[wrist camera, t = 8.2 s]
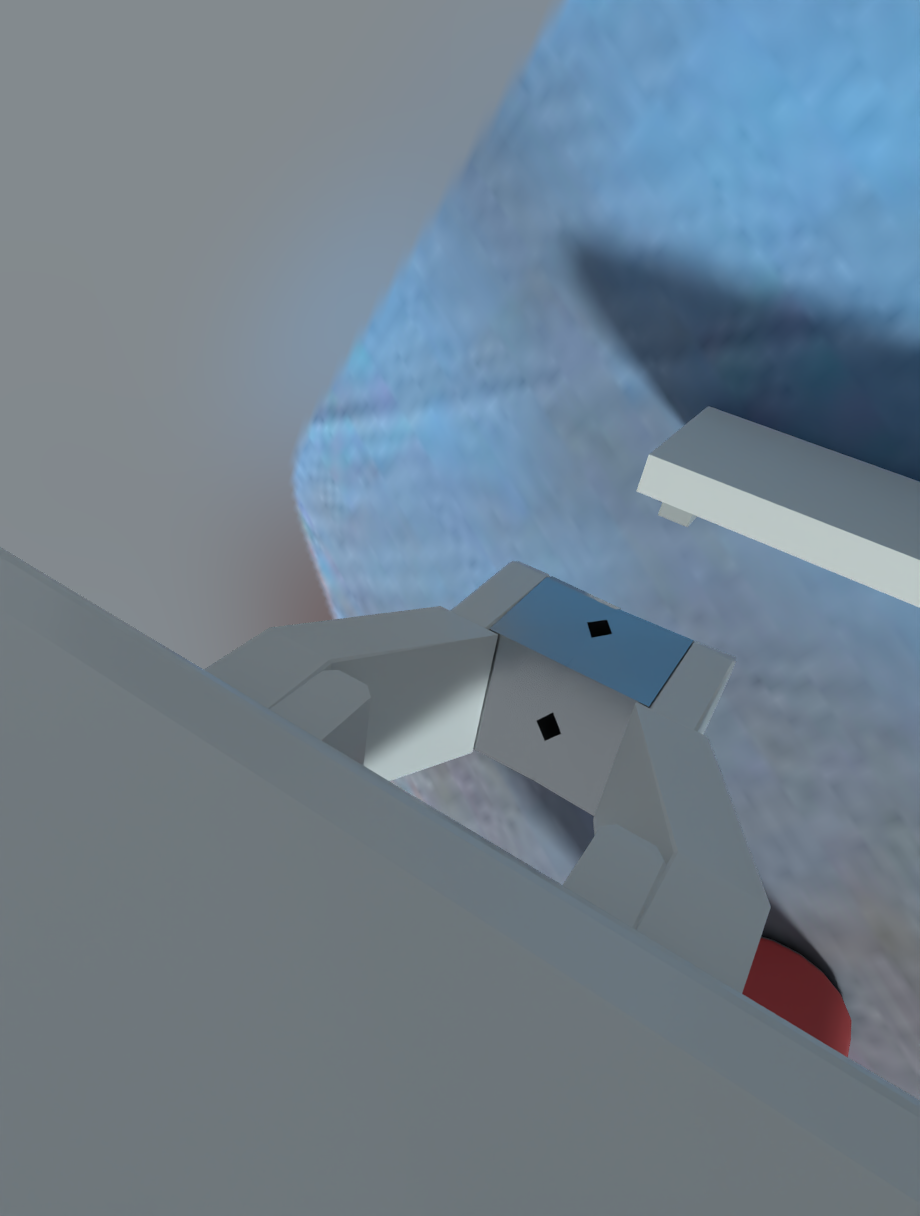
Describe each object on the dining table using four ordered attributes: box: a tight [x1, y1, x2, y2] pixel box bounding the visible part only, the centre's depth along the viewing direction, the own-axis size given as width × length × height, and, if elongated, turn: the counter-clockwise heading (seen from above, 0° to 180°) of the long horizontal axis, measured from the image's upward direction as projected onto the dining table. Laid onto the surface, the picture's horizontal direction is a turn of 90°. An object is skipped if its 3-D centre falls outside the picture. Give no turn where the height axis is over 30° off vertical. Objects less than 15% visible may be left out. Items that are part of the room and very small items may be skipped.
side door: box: [637, 406, 920, 607], centre depth 19 cm, size 12×2×5 cm, turn 79°
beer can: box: [742, 937, 851, 1057], centre depth 27 cm, size 7×7×12 cm
